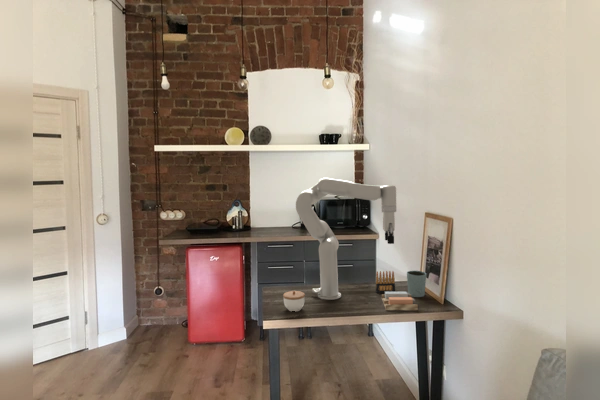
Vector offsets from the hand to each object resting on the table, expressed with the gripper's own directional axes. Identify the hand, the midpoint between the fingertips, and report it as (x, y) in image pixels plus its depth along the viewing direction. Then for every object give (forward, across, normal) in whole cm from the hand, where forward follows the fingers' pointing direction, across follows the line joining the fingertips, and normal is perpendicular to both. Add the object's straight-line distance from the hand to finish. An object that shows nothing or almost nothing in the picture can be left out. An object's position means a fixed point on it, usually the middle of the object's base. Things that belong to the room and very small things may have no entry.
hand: (389, 241), depth 196 cm
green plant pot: (+31, -7, +15) cm, 35 cm away
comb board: (+30, +8, +3) cm, 32 cm away
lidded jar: (+31, +16, -49) cm, 60 cm away
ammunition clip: (+31, -12, -1) cm, 33 cm away
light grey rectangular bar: (+29, +4, +2) cm, 30 cm away
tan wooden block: (+29, +13, +3) cm, 32 cm away
